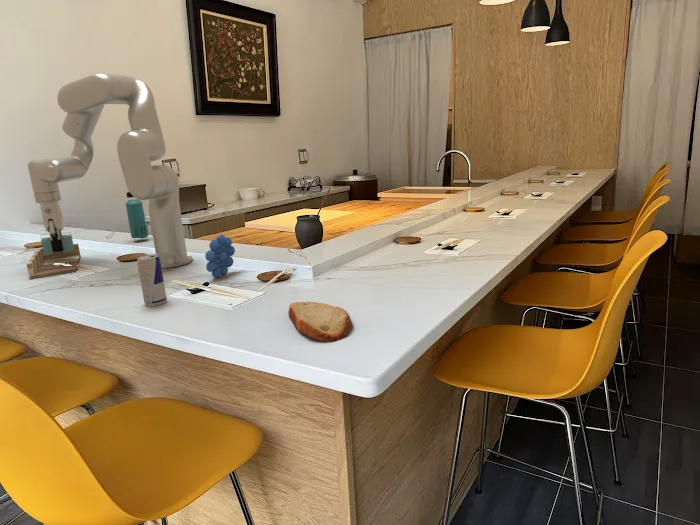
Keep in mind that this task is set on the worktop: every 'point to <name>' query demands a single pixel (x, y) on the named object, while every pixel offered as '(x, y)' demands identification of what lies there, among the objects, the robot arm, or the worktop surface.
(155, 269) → the energy drink
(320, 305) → the bread slice
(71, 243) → the teal block
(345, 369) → the worktop surface
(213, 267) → the grapes
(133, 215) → the beverage bottle
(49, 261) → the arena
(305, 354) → the worktop surface
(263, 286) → the fork
